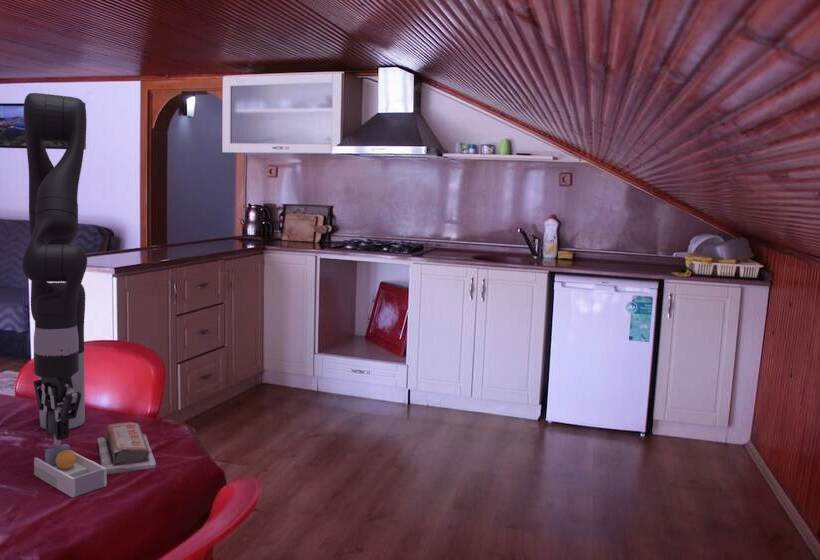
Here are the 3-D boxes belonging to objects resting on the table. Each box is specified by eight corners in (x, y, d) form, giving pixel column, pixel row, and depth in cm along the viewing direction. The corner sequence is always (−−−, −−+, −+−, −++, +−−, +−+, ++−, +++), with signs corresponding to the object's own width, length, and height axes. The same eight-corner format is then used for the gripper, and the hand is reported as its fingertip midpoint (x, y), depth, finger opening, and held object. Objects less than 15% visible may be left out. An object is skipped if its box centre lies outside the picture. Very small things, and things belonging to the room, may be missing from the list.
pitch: (34, 475, 127) (34, 458, 127) (67, 464, 133) (67, 448, 132) (56, 488, 122) (56, 470, 122) (90, 477, 128) (90, 460, 127)
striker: (43, 463, 127) (42, 412, 126) (63, 457, 131) (63, 407, 129) (51, 467, 126) (50, 415, 124) (71, 461, 129) (71, 410, 128)
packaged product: (96, 423, 144) (145, 418, 149) (96, 444, 145) (145, 438, 149) (102, 453, 128) (157, 447, 133) (102, 477, 129) (156, 470, 134)
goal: (56, 488, 122) (56, 470, 122) (90, 477, 128) (90, 460, 127) (72, 497, 119) (72, 479, 119) (106, 485, 125) (106, 468, 124)
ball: (51, 468, 126) (51, 450, 126) (70, 462, 129) (70, 445, 128) (61, 473, 124) (61, 455, 124) (79, 468, 127) (79, 450, 126)
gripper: (17, 345, 126) (19, 432, 128) (55, 359, 118) (56, 451, 120) (57, 339, 132) (58, 422, 135) (95, 352, 124) (95, 440, 127)
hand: (57, 435), depth 127 cm, fingers closed on striker, 3 cm apart
